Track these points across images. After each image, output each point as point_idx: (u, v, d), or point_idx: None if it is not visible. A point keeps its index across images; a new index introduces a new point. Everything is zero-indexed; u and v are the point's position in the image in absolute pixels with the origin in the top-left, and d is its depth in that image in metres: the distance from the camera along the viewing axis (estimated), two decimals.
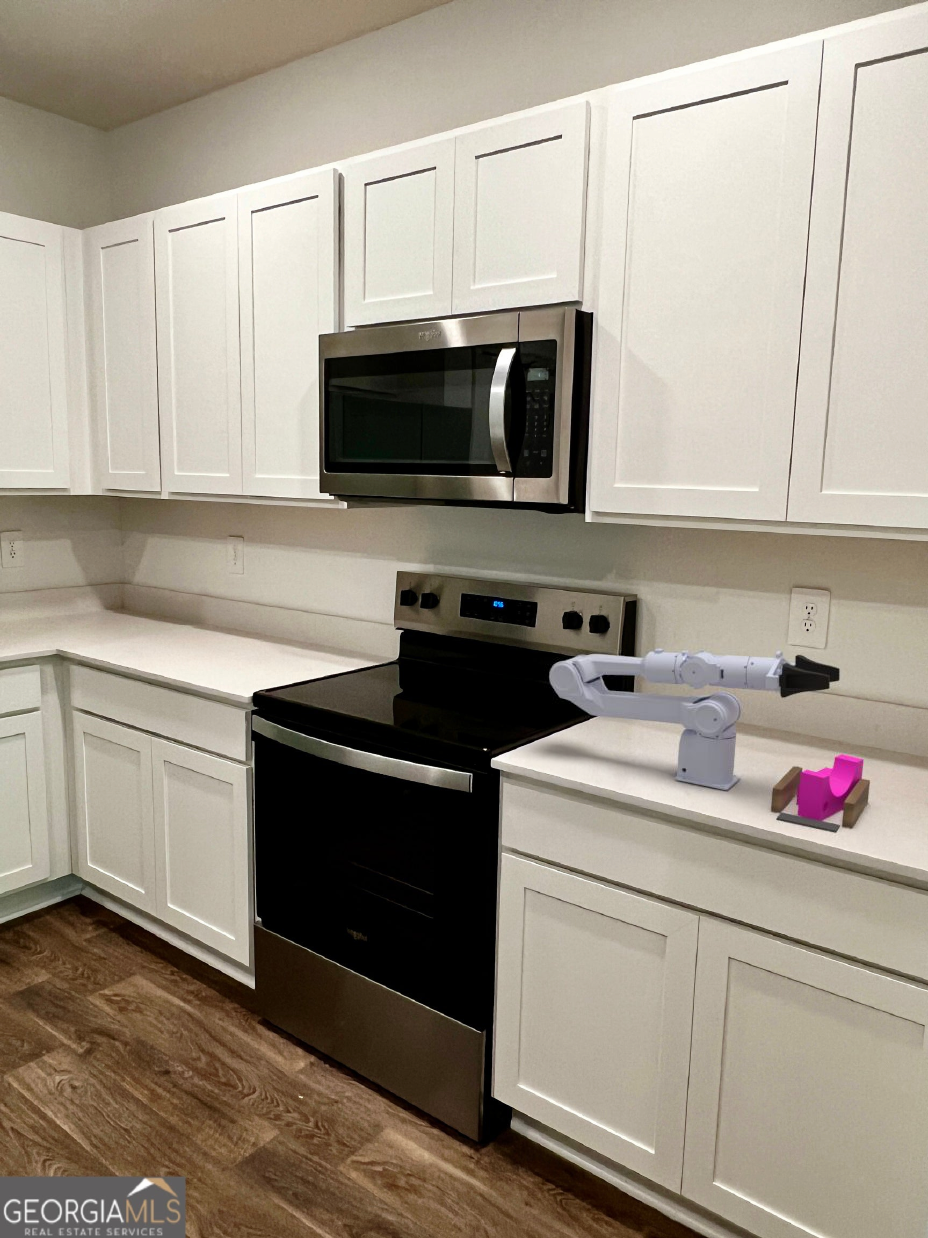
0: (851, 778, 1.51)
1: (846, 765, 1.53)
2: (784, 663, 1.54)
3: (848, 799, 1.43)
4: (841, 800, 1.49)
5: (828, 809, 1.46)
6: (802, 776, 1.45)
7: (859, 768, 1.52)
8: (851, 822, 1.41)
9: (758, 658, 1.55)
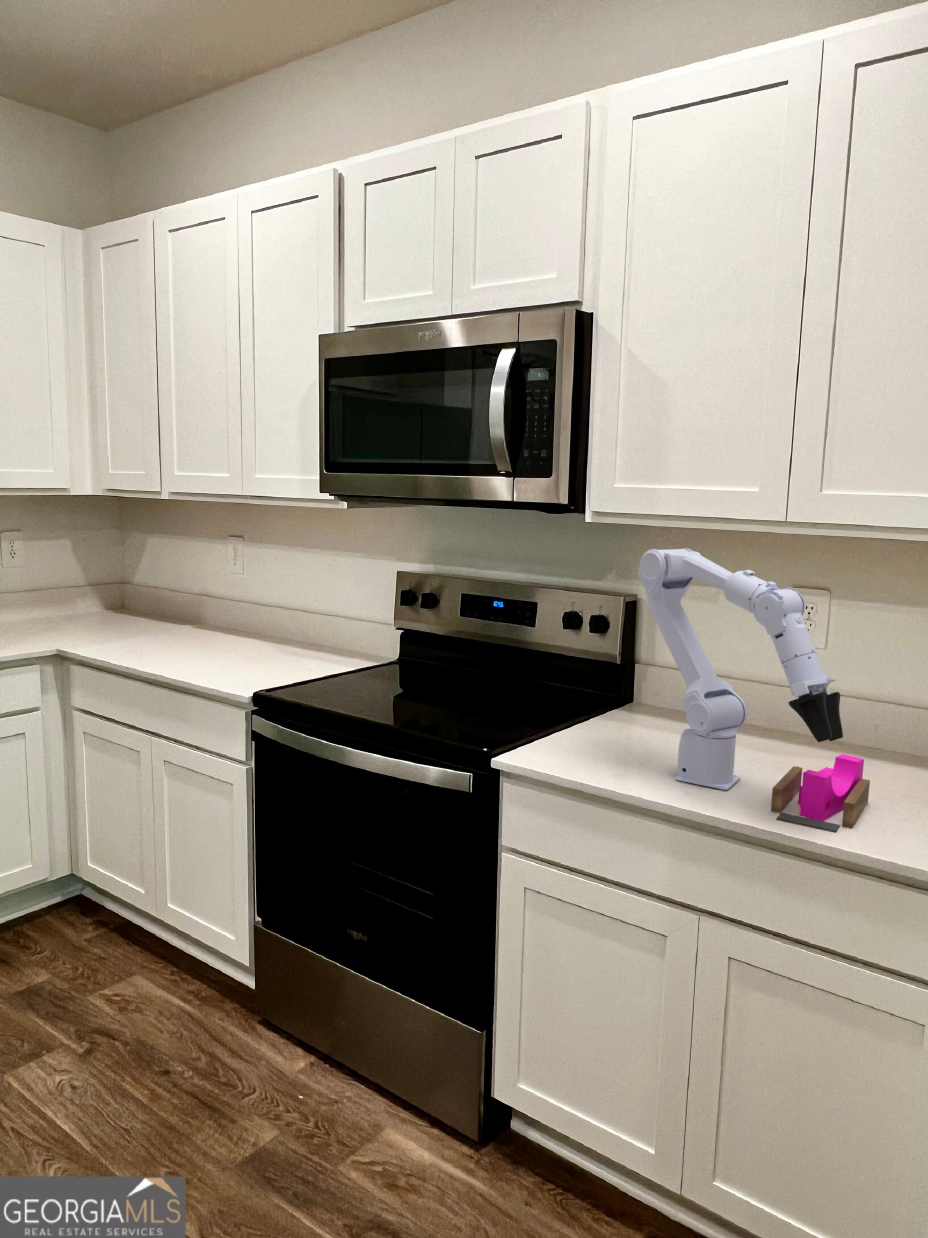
0: (852, 778, 1.51)
1: (846, 765, 1.53)
2: (824, 686, 1.44)
3: (848, 799, 1.43)
4: (842, 800, 1.49)
5: (830, 809, 1.46)
6: (804, 776, 1.45)
7: (860, 768, 1.53)
8: (851, 822, 1.41)
9: (818, 661, 1.43)
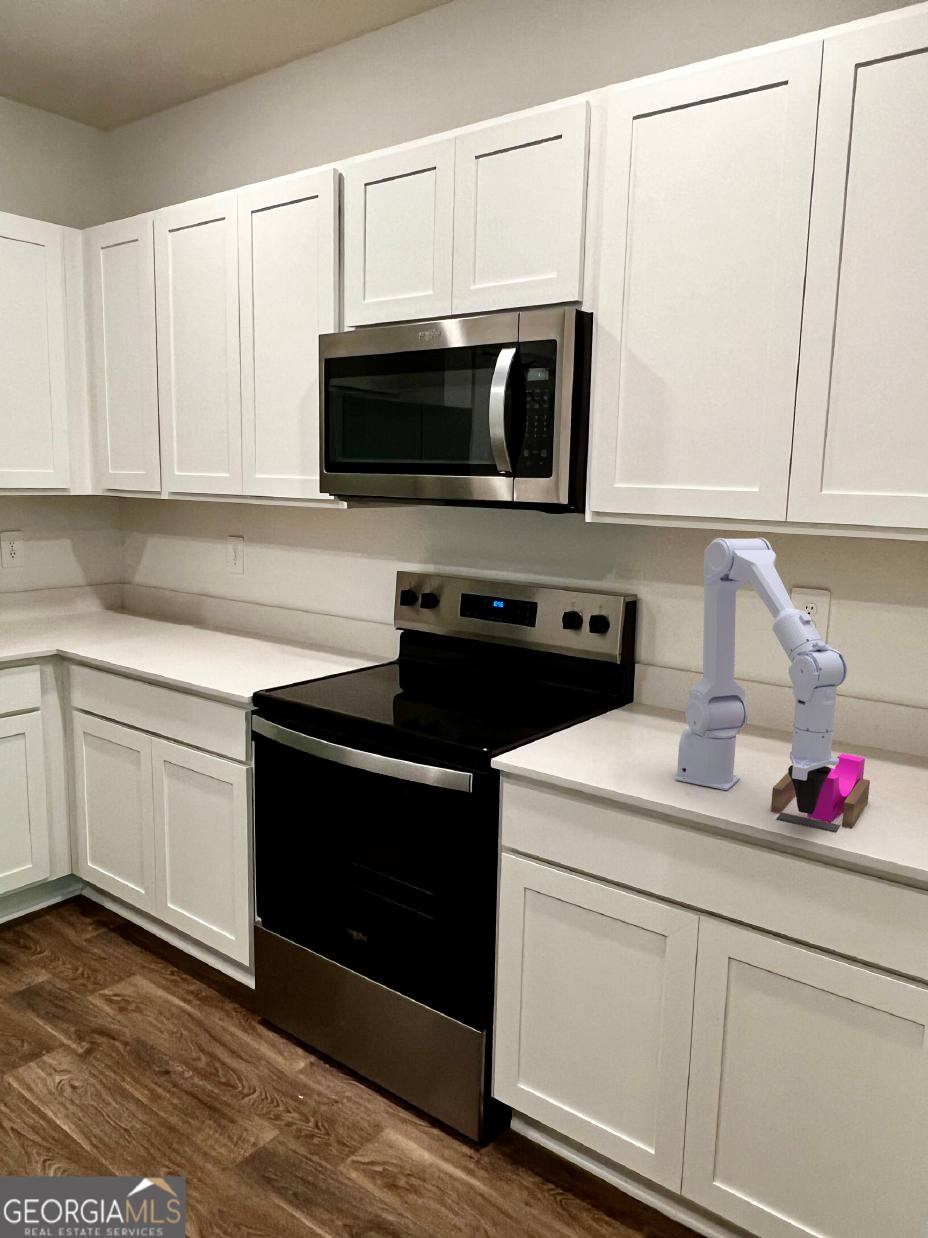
0: (855, 777, 1.52)
1: (848, 765, 1.53)
2: None
3: (848, 799, 1.43)
4: None
5: (837, 810, 1.46)
6: None
7: (861, 767, 1.53)
8: (851, 822, 1.41)
9: (830, 740, 1.37)
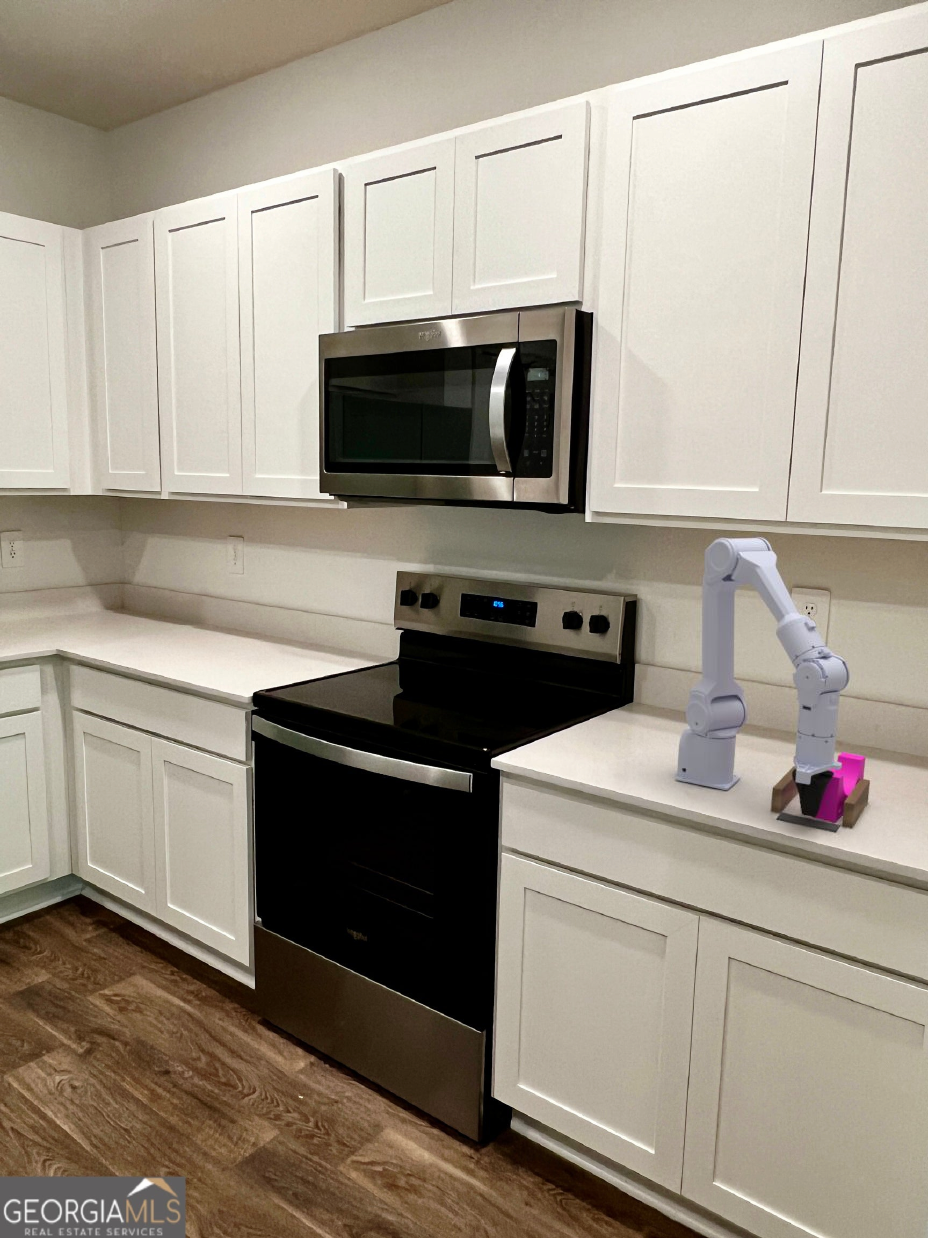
0: (856, 776, 1.52)
1: (850, 763, 1.53)
2: None
3: (848, 799, 1.43)
4: None
5: (841, 809, 1.46)
6: None
7: (862, 766, 1.53)
8: (851, 822, 1.41)
9: (833, 745, 1.40)
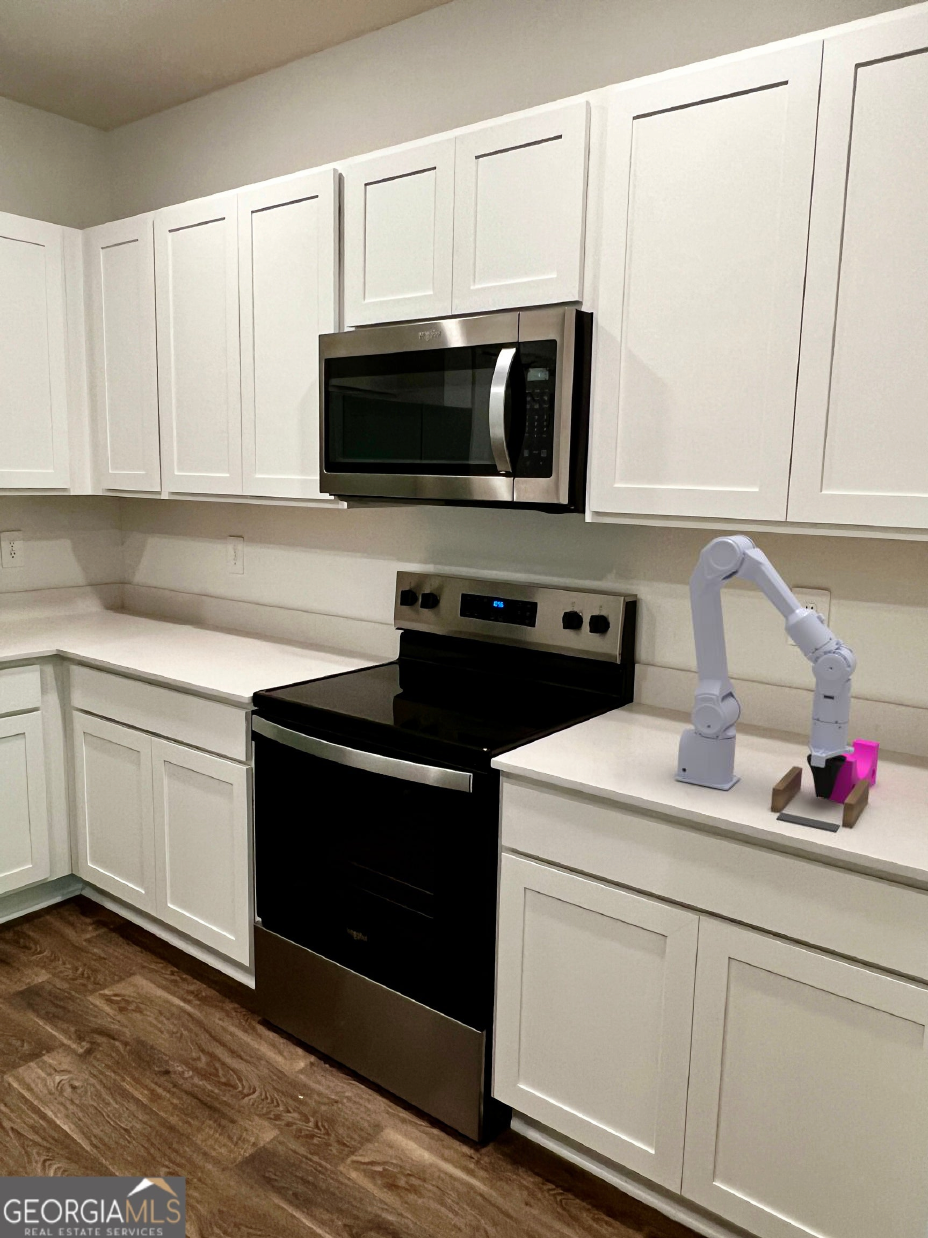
0: (870, 761, 1.60)
1: (864, 749, 1.61)
2: None
3: (848, 799, 1.43)
4: None
5: None
6: None
7: (876, 751, 1.61)
8: (851, 822, 1.41)
9: (846, 731, 1.48)
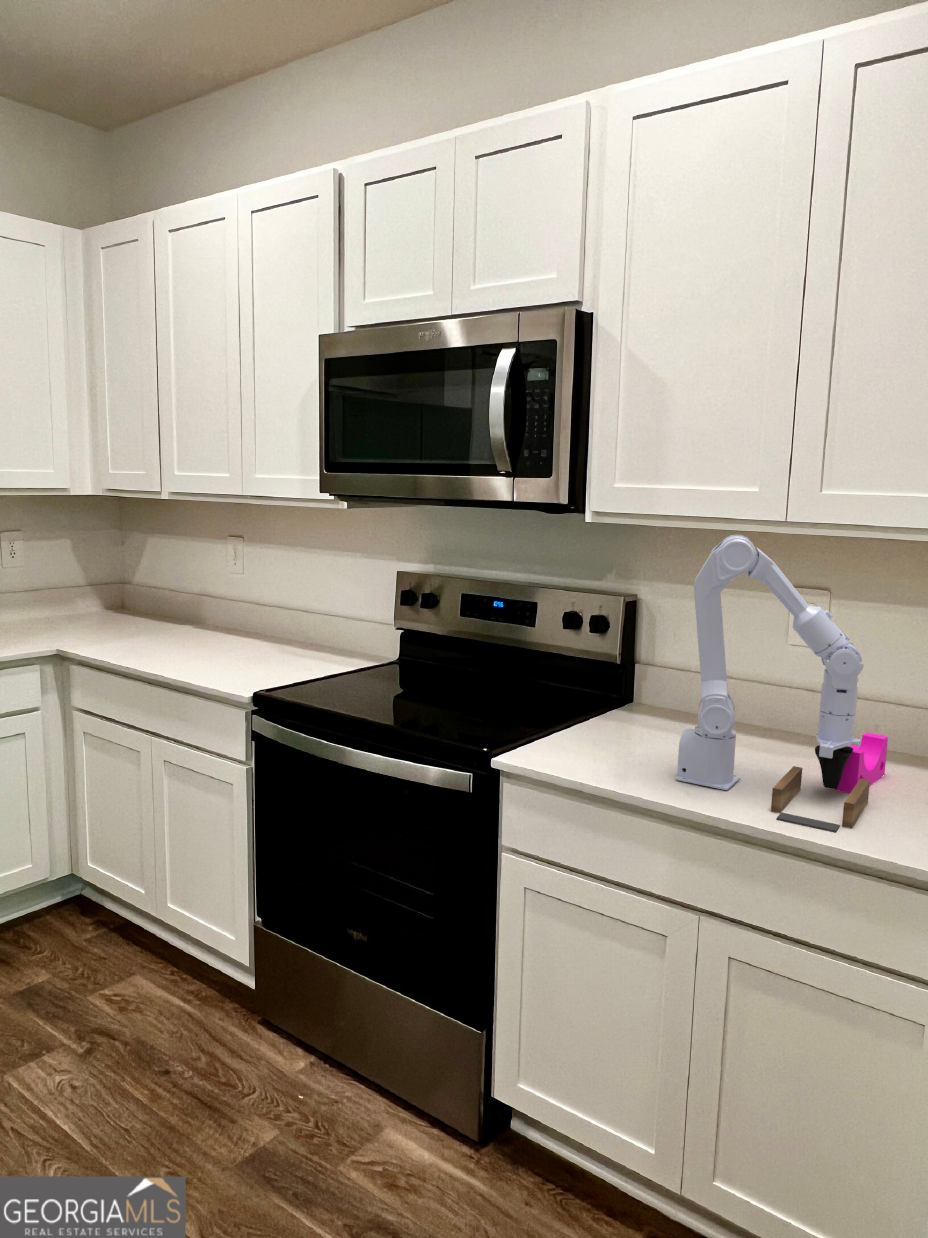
0: (879, 754, 1.65)
1: (873, 742, 1.66)
2: None
3: (848, 799, 1.43)
4: (871, 774, 1.62)
5: None
6: None
7: (885, 744, 1.66)
8: (851, 822, 1.41)
9: (853, 723, 1.53)
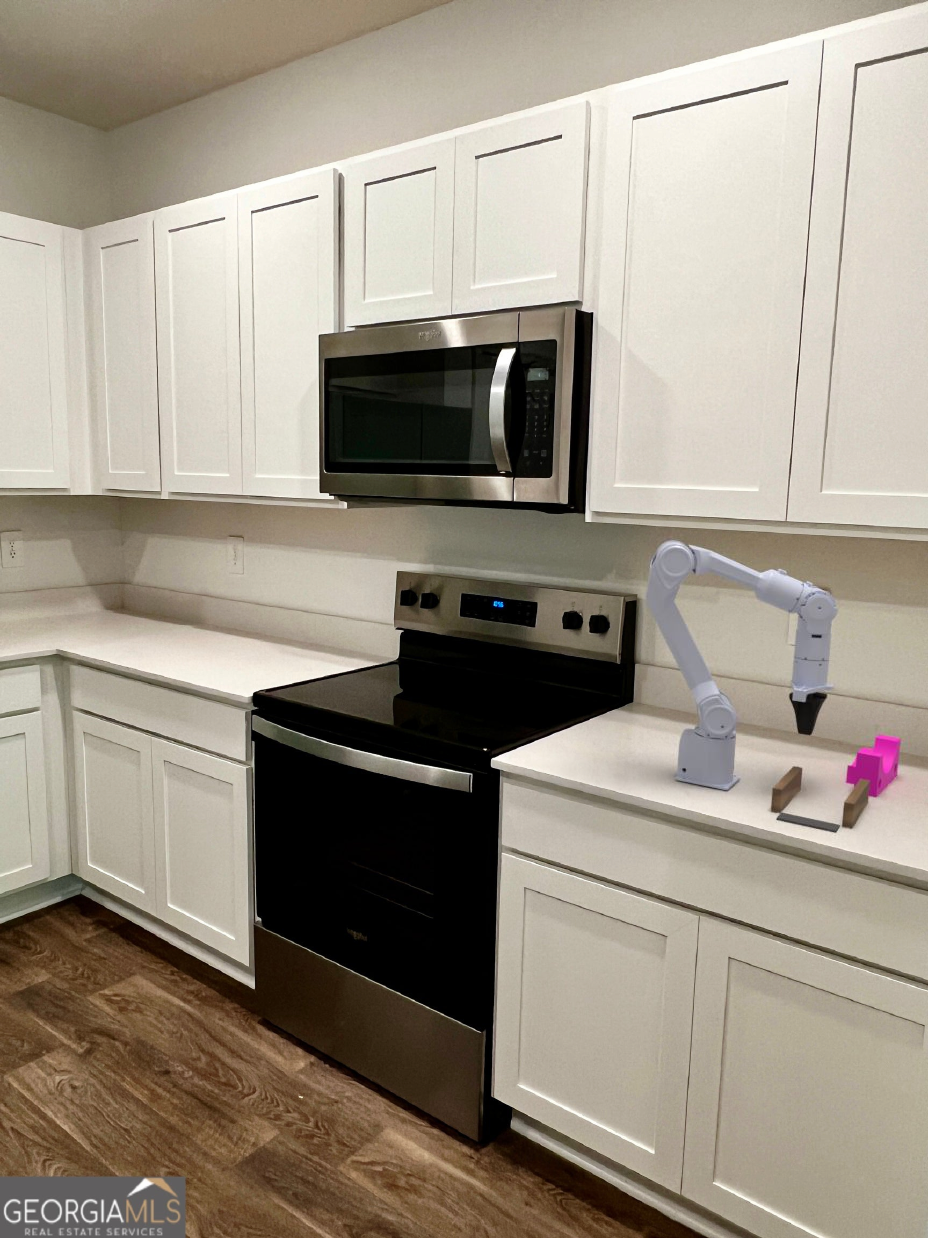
0: (893, 756, 1.64)
1: (886, 744, 1.65)
2: None
3: (848, 799, 1.43)
4: (887, 776, 1.61)
5: (880, 785, 1.58)
6: (858, 756, 1.57)
7: (898, 746, 1.66)
8: (851, 822, 1.41)
9: (826, 668, 1.54)
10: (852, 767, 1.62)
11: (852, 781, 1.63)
